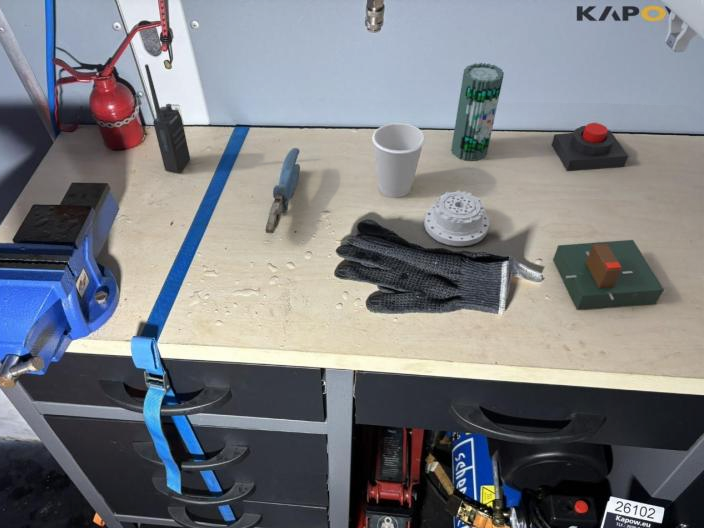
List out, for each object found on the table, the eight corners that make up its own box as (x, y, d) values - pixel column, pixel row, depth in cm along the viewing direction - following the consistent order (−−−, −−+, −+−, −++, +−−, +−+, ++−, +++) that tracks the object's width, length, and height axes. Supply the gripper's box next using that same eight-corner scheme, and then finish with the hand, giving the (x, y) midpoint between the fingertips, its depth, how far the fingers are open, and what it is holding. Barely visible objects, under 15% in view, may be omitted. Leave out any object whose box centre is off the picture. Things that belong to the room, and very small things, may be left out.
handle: (585, 262, 85) (593, 243, 82) (599, 261, 85) (608, 242, 82) (598, 288, 82) (607, 269, 79) (613, 287, 82) (623, 268, 79)
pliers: (277, 247, 95) (273, 219, 90) (263, 246, 95) (260, 217, 90) (303, 171, 107) (301, 143, 103) (291, 170, 108) (289, 142, 103)
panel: (625, 254, 90) (633, 238, 88) (659, 310, 83) (668, 294, 80) (545, 260, 90) (550, 244, 88) (571, 316, 83) (578, 301, 80)
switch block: (606, 140, 109) (613, 121, 106) (624, 166, 104) (632, 147, 101) (551, 144, 109) (557, 125, 106) (566, 171, 104) (573, 151, 101)
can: (467, 164, 107) (481, 85, 95) (445, 148, 110) (456, 70, 99) (493, 153, 108) (511, 74, 97) (471, 137, 112) (485, 59, 101)
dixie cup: (426, 198, 101) (433, 147, 93) (378, 206, 100) (381, 155, 93) (410, 169, 106) (415, 118, 99) (364, 177, 106) (366, 126, 98)
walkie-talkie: (180, 175, 109) (154, 69, 94) (164, 171, 109) (136, 66, 95) (193, 160, 111) (170, 55, 97) (177, 156, 112) (152, 52, 97)
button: (599, 131, 105) (602, 122, 104) (607, 142, 103) (611, 133, 102) (579, 132, 105) (582, 123, 104) (586, 144, 103) (590, 135, 101)
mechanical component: (432, 201, 100) (416, 239, 94) (435, 179, 97) (419, 217, 91) (493, 213, 98) (481, 254, 92) (498, 191, 94) (486, 232, 88)
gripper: (789, -29, 71) (733, 81, 81) (703, -84, 85) (664, 16, 95) (736, -25, 71) (686, 84, 81) (658, -80, 85) (624, 19, 95)
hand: (674, 47), depth 88 cm, fingers closed
